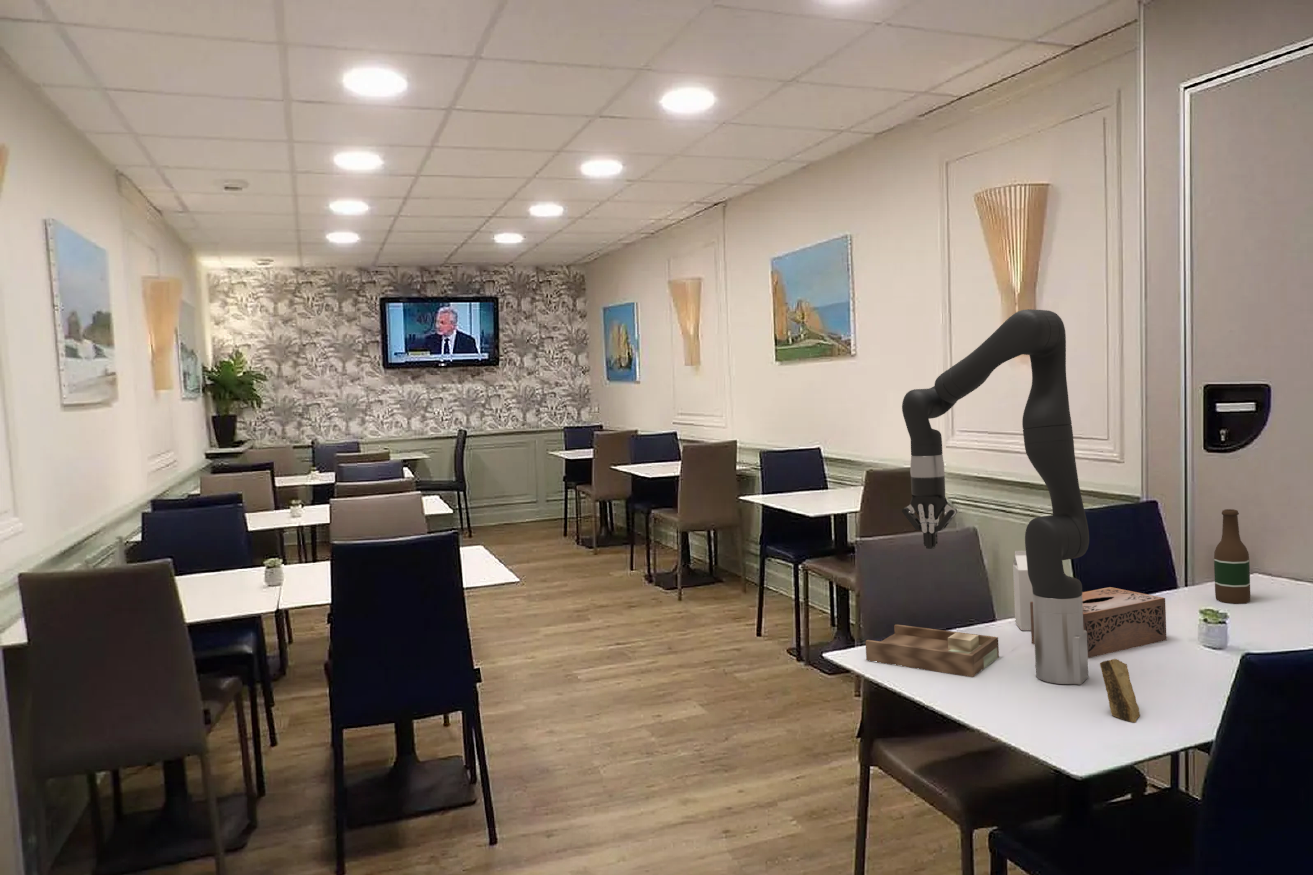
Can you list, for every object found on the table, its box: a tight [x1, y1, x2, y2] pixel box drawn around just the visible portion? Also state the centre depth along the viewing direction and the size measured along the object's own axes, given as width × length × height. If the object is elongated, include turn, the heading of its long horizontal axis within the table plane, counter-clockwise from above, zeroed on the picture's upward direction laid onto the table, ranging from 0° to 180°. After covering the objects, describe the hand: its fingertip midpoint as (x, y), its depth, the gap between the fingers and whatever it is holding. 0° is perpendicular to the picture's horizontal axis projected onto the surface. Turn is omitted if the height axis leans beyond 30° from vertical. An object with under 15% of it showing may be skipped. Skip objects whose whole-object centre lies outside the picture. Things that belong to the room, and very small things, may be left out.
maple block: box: [948, 631, 979, 652], centre depth 196 cm, size 5×5×2 cm
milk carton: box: [1012, 550, 1033, 631], centre depth 218 cm, size 7×7×19 cm
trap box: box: [865, 623, 1000, 678], centre depth 197 cm, size 24×16×4 cm, turn 50°
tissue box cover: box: [1030, 586, 1168, 659], centre depth 203 cm, size 26×14×10 cm, turn 113°
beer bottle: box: [1213, 508, 1251, 605], centre depth 231 cm, size 8×8×24 cm
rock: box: [1099, 658, 1141, 724], centre depth 160 cm, size 11×9×10 cm
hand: (930, 548), depth 206 cm, fingers closed
